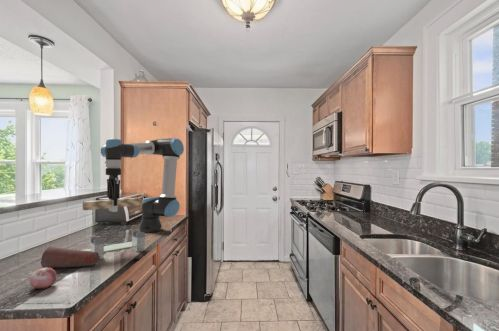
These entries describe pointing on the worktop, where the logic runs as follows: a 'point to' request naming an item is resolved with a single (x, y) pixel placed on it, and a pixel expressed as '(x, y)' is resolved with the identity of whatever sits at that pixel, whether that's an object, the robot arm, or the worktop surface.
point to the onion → (43, 278)
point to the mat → (115, 247)
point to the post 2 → (138, 241)
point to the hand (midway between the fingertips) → (113, 211)
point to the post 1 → (97, 246)
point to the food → (68, 258)
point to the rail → (110, 203)
